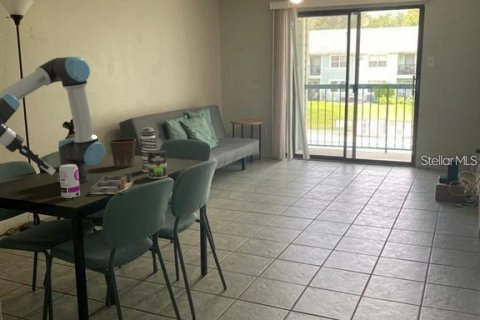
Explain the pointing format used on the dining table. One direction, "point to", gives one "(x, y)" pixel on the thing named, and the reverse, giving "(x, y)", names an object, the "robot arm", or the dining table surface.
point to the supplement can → (69, 181)
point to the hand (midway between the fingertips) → (50, 170)
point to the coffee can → (157, 164)
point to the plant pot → (123, 152)
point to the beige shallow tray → (112, 184)
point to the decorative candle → (147, 145)
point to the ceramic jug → (70, 129)
